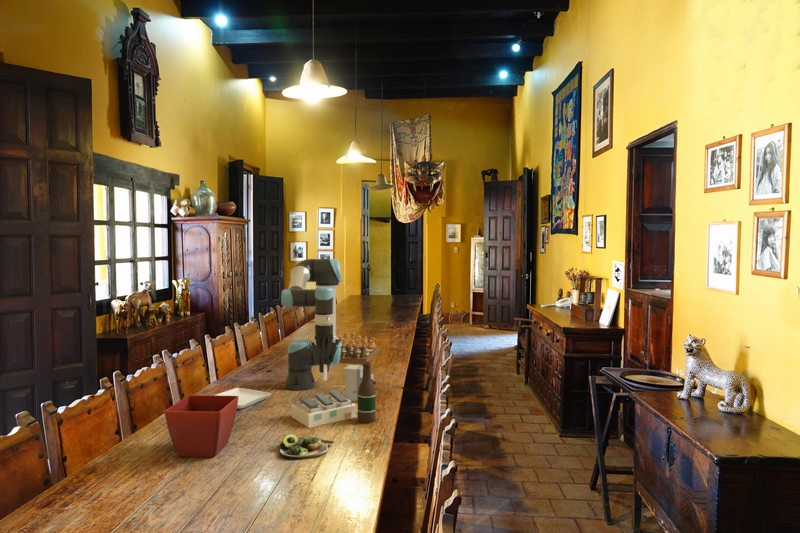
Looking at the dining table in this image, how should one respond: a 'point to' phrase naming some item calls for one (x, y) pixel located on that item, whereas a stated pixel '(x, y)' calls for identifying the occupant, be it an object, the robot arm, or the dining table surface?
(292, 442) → the salad plate
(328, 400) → the block
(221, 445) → the plant pot
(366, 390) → the beer bottle
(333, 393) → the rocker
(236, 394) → the salad plate
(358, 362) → the chess set
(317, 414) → the console
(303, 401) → the rocker
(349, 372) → the circuit breaker
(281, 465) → the dining table surface
